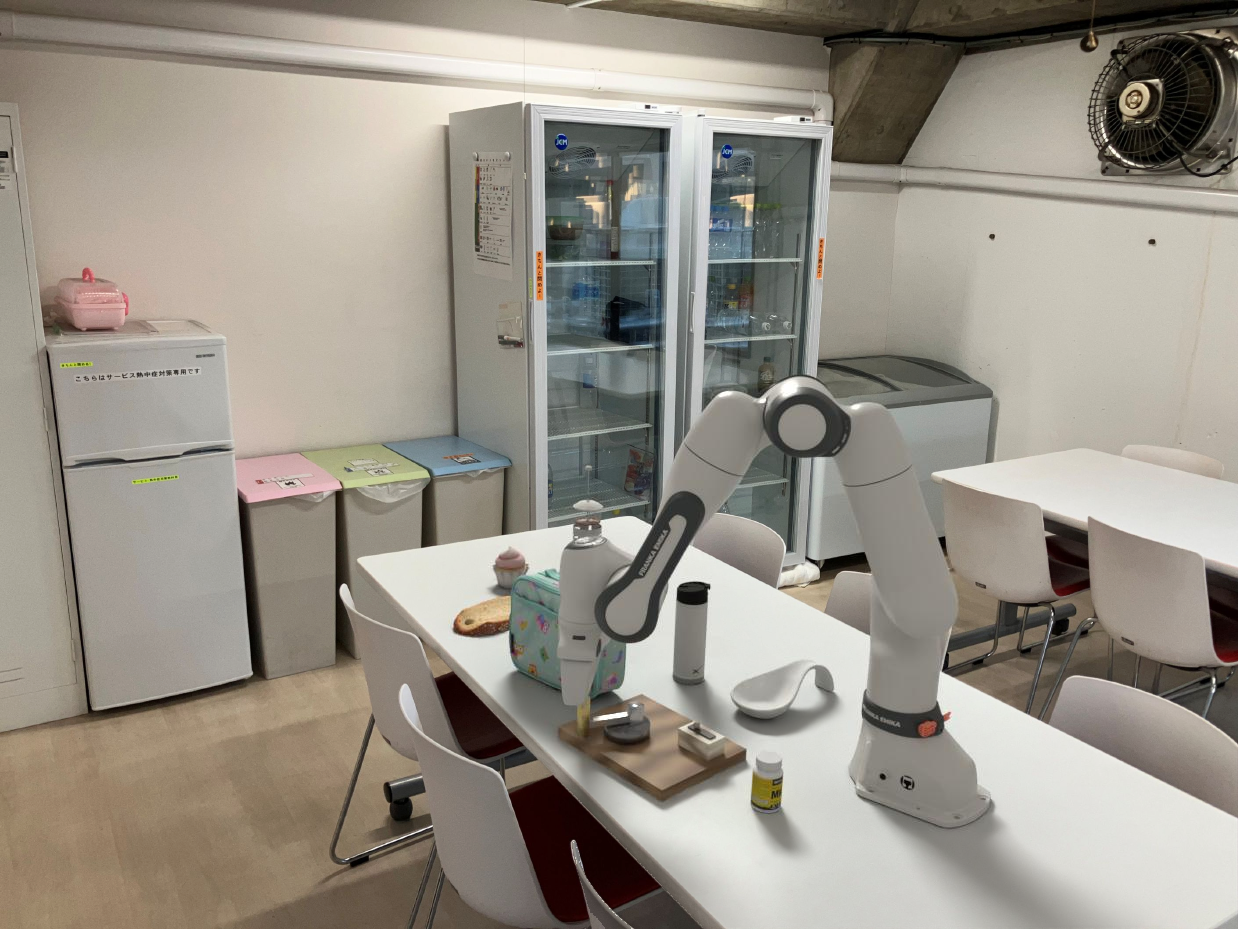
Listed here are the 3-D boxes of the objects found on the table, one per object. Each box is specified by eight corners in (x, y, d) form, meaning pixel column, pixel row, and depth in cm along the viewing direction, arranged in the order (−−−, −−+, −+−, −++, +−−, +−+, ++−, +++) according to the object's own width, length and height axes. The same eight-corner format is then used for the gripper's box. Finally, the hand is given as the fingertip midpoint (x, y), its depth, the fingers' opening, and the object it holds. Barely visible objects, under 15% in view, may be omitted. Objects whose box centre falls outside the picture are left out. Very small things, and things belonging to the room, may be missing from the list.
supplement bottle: (773, 817, 151) (777, 768, 149) (745, 807, 154) (748, 758, 152) (785, 803, 155) (789, 754, 153) (758, 793, 157) (761, 745, 156)
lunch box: (498, 666, 200) (498, 566, 195) (536, 652, 208) (537, 555, 203) (592, 711, 183) (595, 603, 178) (630, 694, 190) (633, 589, 185)
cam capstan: (639, 718, 176) (641, 677, 174) (657, 740, 168) (658, 697, 167) (569, 730, 171) (570, 687, 169) (584, 752, 164) (585, 708, 162)
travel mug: (703, 686, 194) (708, 590, 189) (670, 683, 195) (674, 587, 190) (707, 673, 200) (712, 579, 195) (675, 669, 201) (679, 576, 196)
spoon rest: (762, 734, 177) (764, 697, 175) (716, 708, 186) (718, 673, 184) (847, 699, 191) (850, 664, 189) (801, 677, 200) (804, 644, 198)
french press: (565, 558, 267) (566, 468, 261) (574, 545, 278) (576, 459, 272) (601, 561, 265) (603, 471, 259) (608, 548, 276) (611, 461, 271)
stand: (745, 759, 167) (748, 724, 166) (661, 801, 154) (663, 764, 153) (641, 703, 186) (642, 671, 185) (558, 737, 173) (558, 703, 172)
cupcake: (509, 575, 253) (509, 538, 250) (536, 583, 247) (537, 545, 245) (483, 585, 245) (483, 547, 243) (511, 594, 240) (511, 554, 238)
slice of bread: (524, 603, 235) (524, 588, 234) (537, 633, 218) (537, 617, 217) (448, 608, 231) (448, 593, 230) (455, 639, 214) (455, 623, 213)
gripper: (575, 606, 177) (574, 677, 180) (555, 653, 157) (554, 732, 160) (610, 608, 176) (608, 680, 179) (594, 656, 156) (592, 735, 160)
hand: (582, 705), depth 170 cm, fingers closed
